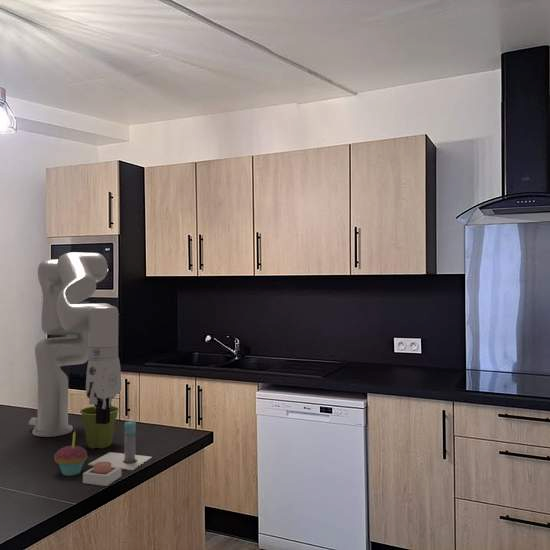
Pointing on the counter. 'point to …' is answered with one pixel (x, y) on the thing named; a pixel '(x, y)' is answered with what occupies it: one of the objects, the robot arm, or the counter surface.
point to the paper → (121, 460)
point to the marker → (129, 441)
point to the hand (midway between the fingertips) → (102, 423)
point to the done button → (102, 468)
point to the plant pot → (98, 428)
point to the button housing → (102, 476)
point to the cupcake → (71, 458)
